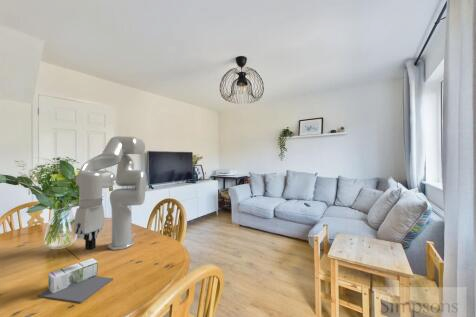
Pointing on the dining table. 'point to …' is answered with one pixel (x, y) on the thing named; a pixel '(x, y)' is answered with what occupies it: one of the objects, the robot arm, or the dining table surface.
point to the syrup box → (72, 275)
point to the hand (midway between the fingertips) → (90, 248)
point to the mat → (78, 290)
